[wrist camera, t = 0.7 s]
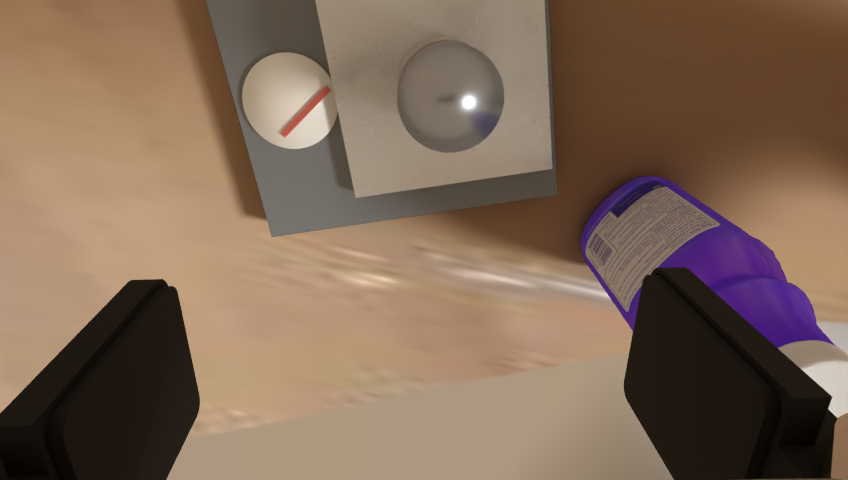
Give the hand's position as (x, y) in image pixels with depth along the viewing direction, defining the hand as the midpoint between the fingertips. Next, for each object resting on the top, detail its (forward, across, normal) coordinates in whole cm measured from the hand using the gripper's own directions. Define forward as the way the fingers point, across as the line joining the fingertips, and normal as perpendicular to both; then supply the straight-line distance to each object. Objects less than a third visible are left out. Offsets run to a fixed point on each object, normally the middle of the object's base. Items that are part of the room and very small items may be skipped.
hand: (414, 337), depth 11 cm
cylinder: (+19, -2, -3) cm, 19 cm away
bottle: (+22, -14, +7) cm, 28 cm away
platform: (+20, -2, -3) cm, 20 cm away
